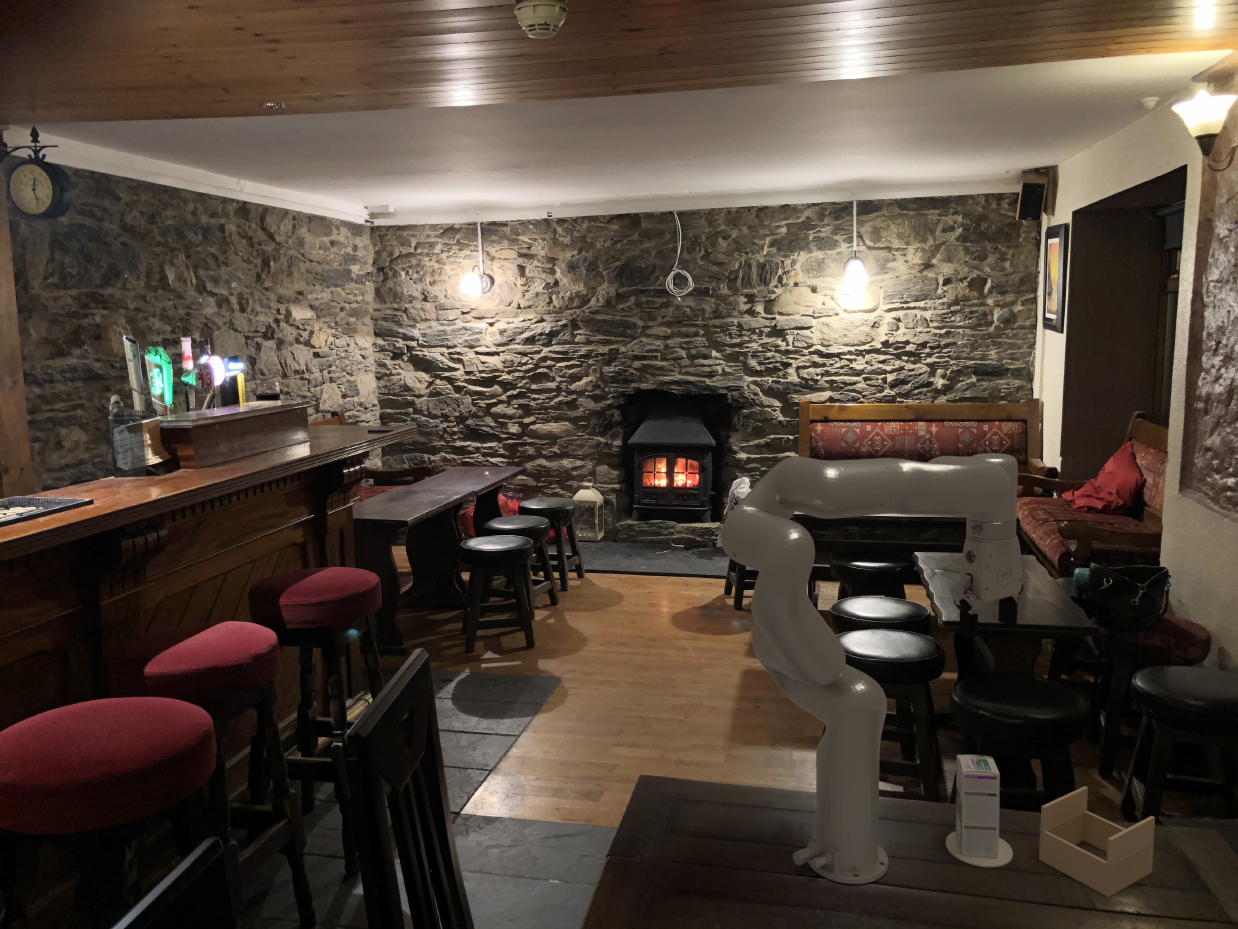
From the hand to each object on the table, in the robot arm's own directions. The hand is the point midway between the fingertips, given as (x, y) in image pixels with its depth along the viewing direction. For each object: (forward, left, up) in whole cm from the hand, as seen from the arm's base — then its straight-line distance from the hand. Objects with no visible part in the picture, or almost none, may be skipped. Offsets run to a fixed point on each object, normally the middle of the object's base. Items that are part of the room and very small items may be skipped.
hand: (988, 629), depth 148 cm
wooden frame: (+2, -19, -33) cm, 38 cm away
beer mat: (-9, -6, -33) cm, 35 cm away
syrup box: (-10, -6, -33) cm, 35 cm away
